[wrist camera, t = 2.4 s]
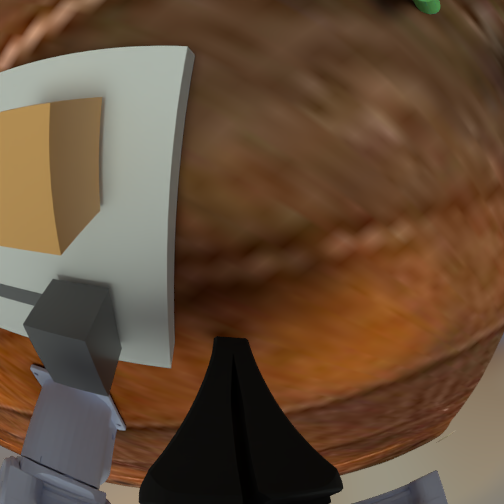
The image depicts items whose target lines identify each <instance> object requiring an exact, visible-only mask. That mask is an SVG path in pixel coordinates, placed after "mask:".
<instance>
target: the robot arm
mask: <svg viewBox="0 0 504 504" xmlns="http://www.w3.org/2000/svg"><path fill="white" fill-rule="evenodd" d="M30 369H31V371H32V372H33V374H34V376H35V377H36V379H37V380H38V381H39V383H40V384H41V386H42V389H41V392H40V395H39V397H38V400H37V403H36V406H35V409H34V412H33V415H32V418H31V421H30V424H29V427H28V431H27V434H26V437H25V441H24V445H23V449H22V452H21V456H22V457H19V456H17V458H15V457H13V456H10V458H5V459H4V461H3V463H2V466H1V469H0V504H111V503H110V502H109V501H108V500H107V499H106V493H104V492H102V491H99V487H100V485H101V484H103V483H104V482H105V481H106V480H107V478H108V476H109V474H110V469H111V462H112V455H113V449H114V443H115V437H116V431H117V429H119V430H126V426H125V424H124V422H123V420H122V419H121V417H120V415H119V413H118V411H117V409H116V407H115V405H114V403H113V400H112V398H111V396H110V394H109V397H107V396H103V395H99V394H95V393H91V392H87V391H83V390H79V389H76V388H72V387H69V386H65V385H62V384H59V383H56V382H54V381H53V379H52V378H51V376H50V374H49V373H48V371H47V369H45V368H42V367H39V366H36V365H31V367H30ZM342 489H343V484H342V480H341V478H340V475H339V473H338V470H337V469H336V468H335V467H334V466H333V465H332V464H330V463H329V462H328V461H327V460H326V459H324V458H323V457H322V456H321V455H320V454H319V453H318V452H317V451H316V450H315V449H314V448H313V447H312V446H311V445H310V444H309V443H308V442H307V441H306V440H305V439H304V438H303V437H302V435H301V434H300V433H299V432H298V431H297V430H296V429H295V427H294V426H293V425H292V424H291V422H290V421H289V420H288V418H287V417H286V416H285V414H284V413H283V411H282V410H281V408H280V407H279V405H278V404H277V402H276V401H275V399H274V397H273V396H272V394H271V392H270V390H269V389H268V387H267V385H266V383H265V381H264V379H263V377H262V375H261V373H260V371H259V369H258V366H257V364H256V362H255V359H254V357H253V354H252V351H251V348H250V345H249V342H248V340H247V339H246V338H231V337H218V336H217V337H215V338H214V343H213V351H212V355H211V359H210V363H209V366H208V369H207V372H206V374H205V377H204V380H203V382H202V385H201V387H200V389H199V392H198V394H197V396H196V398H195V400H194V402H193V404H192V406H191V408H190V410H189V412H188V414H187V416H186V417H185V419H184V421H183V423H182V424H181V426H180V428H179V429H178V431H177V432H176V434H175V435H174V437H173V438H172V440H171V441H170V443H169V444H168V446H167V447H166V448H165V450H164V451H163V453H162V454H161V455H160V456H159V458H158V459H157V460H156V461H155V463H154V464H153V465H152V466H151V467H150V469H149V470H148V473H147V474H146V476H145V478H144V480H143V482H142V484H141V487H140V491H139V503H140V504H329V503H331V499H330V496H331V495H333V494H336V493H338V492H340V491H341V490H342ZM353 504H448V503H447V500H446V496H445V493H444V490H443V487H442V484H441V480H440V477H439V474H438V471H436V470H435V471H433V472H431V473H429V474H427V475H425V476H423V477H421V478H419V479H417V480H414V481H412V482H410V483H409V484H407V485H405V486H402V487H400V488H397V489H395V490H392V491H390V492H387V493H384V494H381V495H379V496H375V497H372V498H369V499H366V500H363V501H359V502H356V503H353Z"/></svg>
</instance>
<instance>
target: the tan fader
mask: <svg viewBox="0 0 504 504" xmlns="http://www.w3.org/2000/svg"><path fill="white" fill-rule="evenodd" d="M101 105H102V97H94V98H81V99H70V100H61V101H53V102H46V103H40V104H34V105H28V106H23V107H19V108H14V109H10V110H5V111H1V112H0V246H3V247H9V248H16V249H22V250H28V251H35V252H41V253H48V254H54V255H62V254H63V252H64V251H65V250H66V249H67V248H68V246H69V245H70V244H71V243H72V242H73V241H74V239H75V238H76V237H77V236H78V235H79V234H80V232H81V231H82V230H83V229H84V228H85V227H86V226H87V225H88V223H89V222H90V221H91V220H92V219H93V218H94V217H95V216H96V215H97V214H98V213H99V212H100V195H99V136H100V118H101Z"/></svg>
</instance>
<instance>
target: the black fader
mask: <svg viewBox="0 0 504 504" xmlns="http://www.w3.org/2000/svg"><path fill="white" fill-rule="evenodd" d="M23 326H24V328H25V330H26V332H27V334H28V336H29V338H30V340H31V342H32V344H33V346H34V348H35V350H36V352H37V354H38V355H39V357H40V359H41V361H42V363H43V364H44V366H45V368H46V369H47V371H48V373H49V374H50V376H51V378H52V379H53V381H54V382H56V383H59V384H62V385H65V386H69V387H72V388H76V389H79V390H83V391H87V392H91V393H95V394H99V395H103V396H107V397H109V393H110V389H111V385H112V381H113V378H114V374H115V370H116V367H117V363H118V360H119V356H120V353H121V350H122V347H121V343H120V339H119V334H118V330H117V326H116V321H115V316H114V311H113V306H112V301H111V296H110V290H109V288H104V287H98V286H92V285H86V284H80V283H74V282H68V281H63V280H57V279H52V281H51V282H50V283H49V285H48V286H47V288H46V289H45V291H44V292H43V294H42V295H41V297H40V298H39V300H38V301H37V303H36V304H35V306H34V307H33V309H32V310H31V312H30V314H29V315H28V317H27V318H26V320H25V322H24V323H23Z"/></svg>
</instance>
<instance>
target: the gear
mask: <svg viewBox="0 0 504 504" xmlns="http://www.w3.org/2000/svg"><path fill="white" fill-rule="evenodd" d="M412 1H414V3H415V5H416V7H417V8H418V9H419V10H420V11H422V12H424V13H427V14H435V13H437V12H438V11H439V10H440V2H439V0H412Z"/></svg>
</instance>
